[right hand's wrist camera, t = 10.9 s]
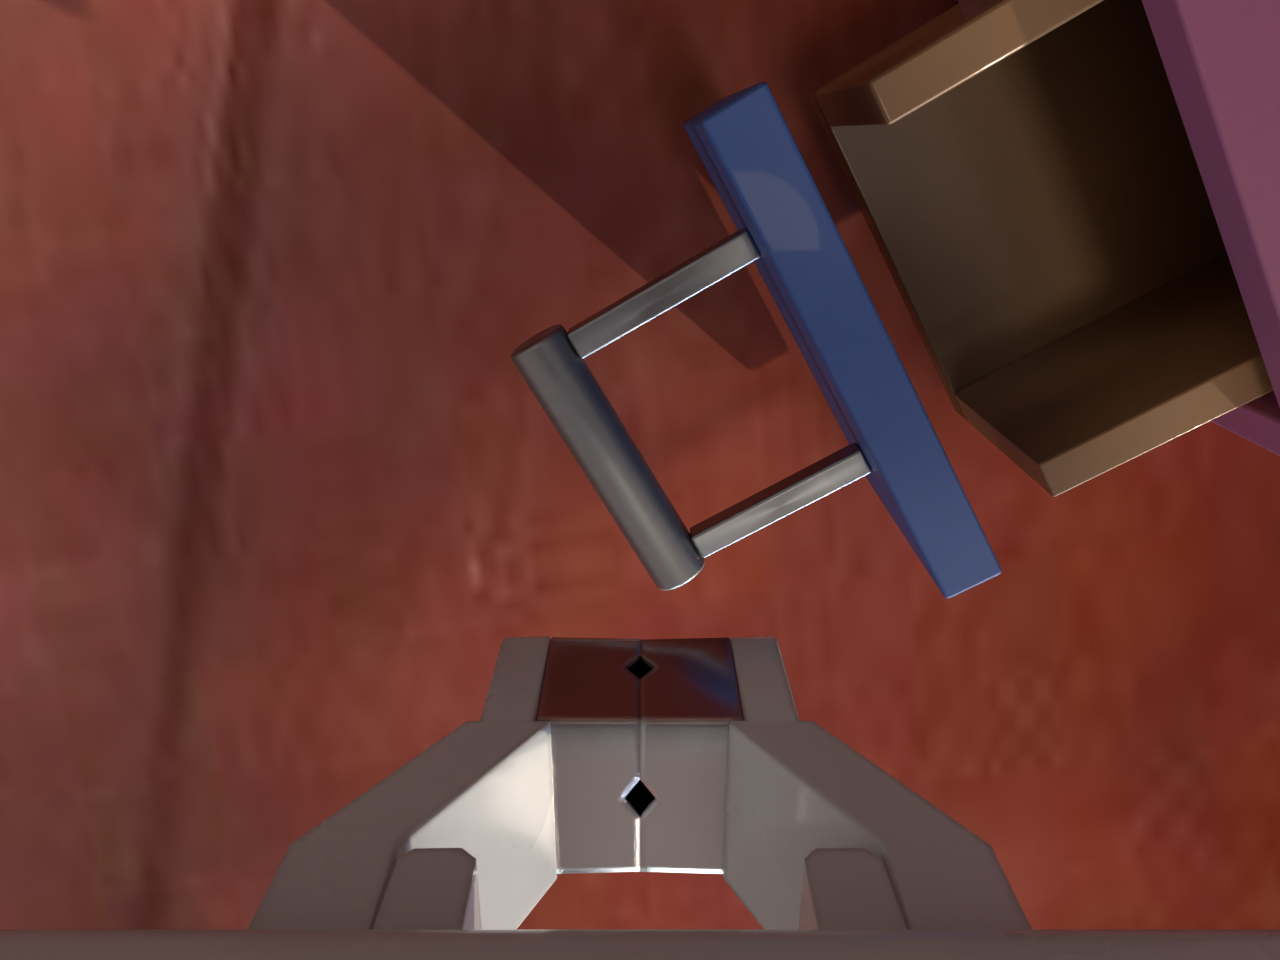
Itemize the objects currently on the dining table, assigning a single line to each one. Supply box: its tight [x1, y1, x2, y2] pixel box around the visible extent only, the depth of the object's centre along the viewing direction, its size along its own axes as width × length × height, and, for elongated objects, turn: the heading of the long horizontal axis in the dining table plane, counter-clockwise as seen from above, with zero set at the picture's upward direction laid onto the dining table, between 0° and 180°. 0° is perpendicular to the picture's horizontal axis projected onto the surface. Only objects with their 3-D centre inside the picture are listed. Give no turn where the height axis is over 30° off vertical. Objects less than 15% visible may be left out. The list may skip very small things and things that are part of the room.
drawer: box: [511, 0, 1273, 598], centre depth 18 cm, size 23×10×6 cm, turn 120°
